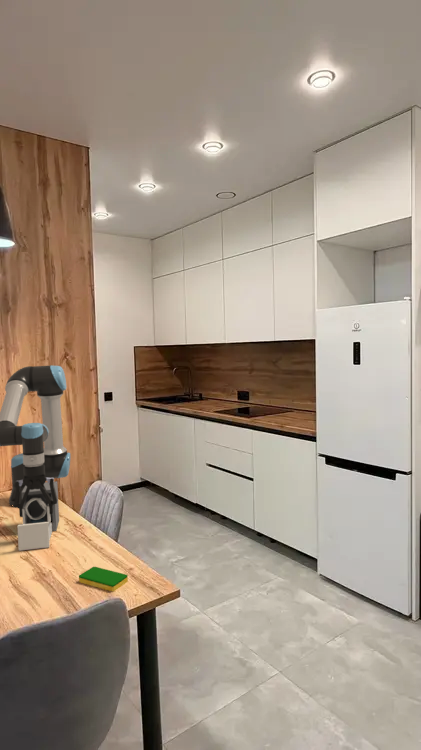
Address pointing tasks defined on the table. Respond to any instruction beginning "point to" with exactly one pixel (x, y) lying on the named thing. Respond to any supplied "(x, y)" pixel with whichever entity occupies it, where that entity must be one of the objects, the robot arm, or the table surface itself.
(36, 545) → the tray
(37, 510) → the cabinet
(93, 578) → the dish sponge
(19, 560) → the table surface
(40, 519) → the watch
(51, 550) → the table surface
